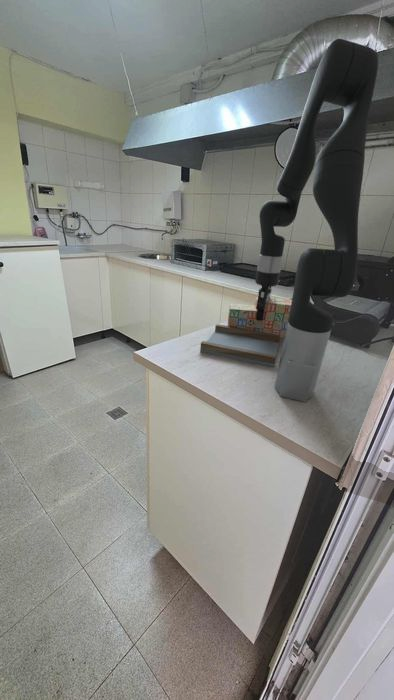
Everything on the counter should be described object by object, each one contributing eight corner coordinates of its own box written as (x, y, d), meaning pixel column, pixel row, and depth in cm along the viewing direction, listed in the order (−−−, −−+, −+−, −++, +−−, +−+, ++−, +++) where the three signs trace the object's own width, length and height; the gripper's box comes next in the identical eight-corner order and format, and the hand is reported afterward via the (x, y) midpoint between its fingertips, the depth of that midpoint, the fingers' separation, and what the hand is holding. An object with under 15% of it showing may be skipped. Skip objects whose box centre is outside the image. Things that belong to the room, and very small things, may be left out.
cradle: (273, 367, 81) (275, 357, 79) (200, 351, 87) (200, 343, 85) (279, 343, 95) (280, 335, 94) (216, 331, 101) (216, 324, 100)
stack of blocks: (227, 333, 101) (230, 300, 95) (227, 327, 106) (230, 295, 101) (288, 338, 99) (295, 304, 94) (285, 331, 105) (291, 299, 99)
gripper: (278, 275, 86) (269, 325, 93) (282, 267, 98) (274, 311, 105) (253, 272, 88) (246, 321, 95) (260, 264, 100) (254, 308, 107)
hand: (261, 316), depth 100 cm, fingers open, 8 cm apart
